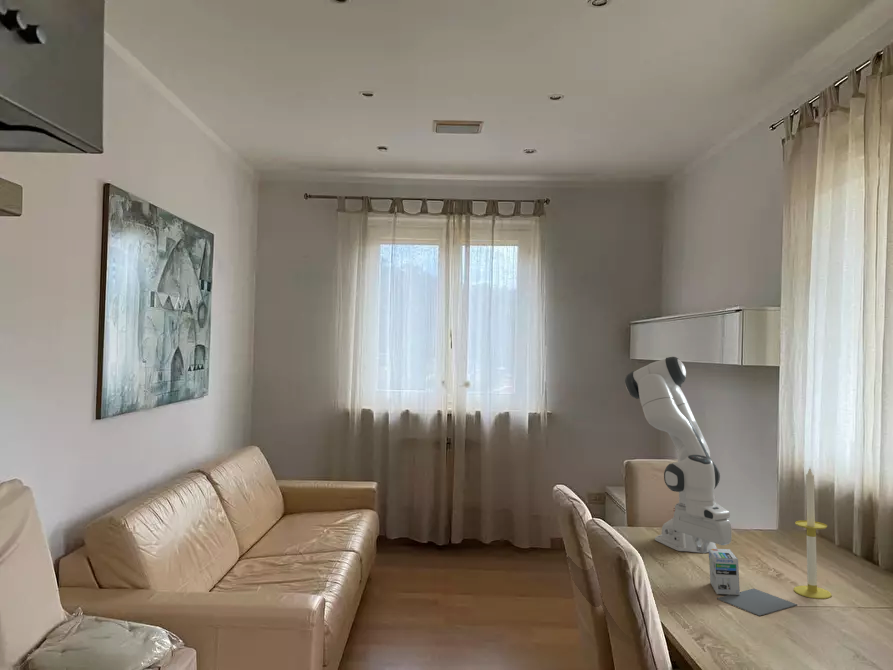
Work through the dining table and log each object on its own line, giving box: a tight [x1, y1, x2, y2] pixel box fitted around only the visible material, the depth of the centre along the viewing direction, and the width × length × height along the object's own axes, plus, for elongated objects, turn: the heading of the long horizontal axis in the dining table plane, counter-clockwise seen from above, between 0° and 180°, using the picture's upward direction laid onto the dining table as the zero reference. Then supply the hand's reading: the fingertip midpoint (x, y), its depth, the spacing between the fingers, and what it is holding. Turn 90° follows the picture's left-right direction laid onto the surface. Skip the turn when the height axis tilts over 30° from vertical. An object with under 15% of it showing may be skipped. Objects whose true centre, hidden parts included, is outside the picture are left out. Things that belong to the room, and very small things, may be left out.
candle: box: [793, 468, 833, 600], centre depth 194 cm, size 10×10×38 cm
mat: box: [716, 587, 798, 617], centre depth 186 cm, size 14×16×1 cm
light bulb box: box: [708, 548, 741, 595], centre depth 196 cm, size 11×7×11 cm, turn 168°
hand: (701, 551), depth 203 cm, fingers closed
